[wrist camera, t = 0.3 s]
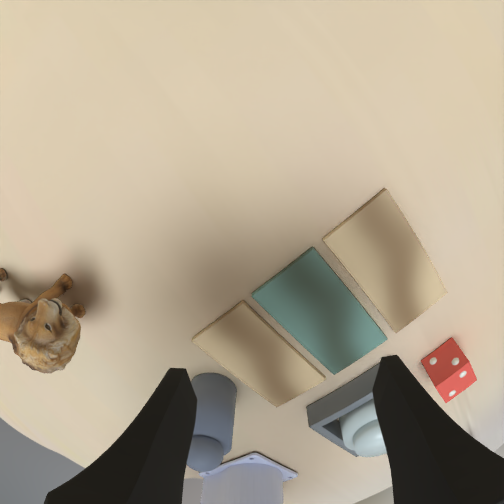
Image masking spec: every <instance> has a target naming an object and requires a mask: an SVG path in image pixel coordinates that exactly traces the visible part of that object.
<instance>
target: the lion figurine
mask: <svg viewBox="0 0 504 504" xmlns="http://www.w3.org/2000/svg"><path fill="white" fill-rule="evenodd" d="M6 278H7V275H6V272H5V270H4V269H0V281H4V280H6ZM71 287H72V280H71V279H70V278H69V277H68V276H67V275H66V274H63V275H62V276H61V277H60V278H59V279H58V280H57V281H56V283H55V284H54V285H53V286H52V287H51V288H50V289H49V290H47V291H45V292H43V293H42V294H41V295H40V296H39V297H38V298H37V299H36V300H35V301H34V302H33V303H31V301H29V300H27V299H23V300H20V301H17V302H8V303H4V304H1V303H0V340H4V341H7V342H10V343H12V345H13V349H14V353H15V354H17V355H18V356H19V357H20V358H21V359H22V362H23V364H26V365H27V366H29V367H30V368H31V369H32V370H37V371H39V372H42V373H52V372H54V371H56V370H63V369H64V368H65V366H66V364H67V363H69V362H70V361H71V358H72V356H73V355H74V353H75V351H76V347H77V344H78V341H79V339H80V330H81V326H80V323H79V321H78V320H77V319H76V318H75V316H76V317H78V318H82V317H83V316H84V315H85V309H84V307H83V306H82V305H80V304H74V305H72V306H71V307H70V308H68V306H67V305H65V304H63V303H61V301H60V300H59V299H57V298H58V297H59V296H61V295H62V294H64V293H65V292H66V290H68V289H70V288H71Z"/></svg>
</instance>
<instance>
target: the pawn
mask: <svg viewBox="0 0 504 504" xmlns="http://www.w3.org/2000/svg"><path fill="white" fill-rule="evenodd" d="M191 384H192V387H193V389H194V392H195V395H196V397H197V411H196V421H195V427H194V432H193V436H192V441H191V446H190V450H189V455H188V459H187V465H188V466H189V467H190V468H192V469H193V470H196V471H200V472H208V471H211V470H214V469H215V468H217V467H218V466H219V465H220V464H221V462H222V460H223V456H224V455H226V454H227V453H229V452H230V450H231V446H232V435H233V425H234V414H235V403H236V392H237V389H236V386H235V384H234V383H233V382H232V381H231V380H230V379H229V378H227V377H225V376H223V375H220V374H216V373H203V374H200V375H197V376H196V377H194V378H193V380H192V381H191Z"/></svg>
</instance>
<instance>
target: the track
mask: <svg viewBox="0 0 504 504" xmlns="http://www.w3.org/2000/svg"><path fill="white" fill-rule="evenodd" d="M323 241H324V242H325V243H326V245H327V246H328V247H329V248H330V249H331V251H332V252H333V253H334V254H335V256H336V257H337V258H338V259H339V260H340V262H341V263H342V264H343V265H344V267H345V268H346V269H347V270H348V272H349V273H350V274H351V275H352V277H353V278H354V279H355V281H356V282H357V283H358V284H359V286H360V287H361V288H362V289H363V291H364V292H365V293H366V295H367V296H368V297H369V299H370V300H371V301H372V302H373V304H374V305H375V306H376V308H377V309H378V310H379V312H380V313H381V314H382V316H383V317H384V318H385V320H386V321H387V322H388V324H389V325H390V326H391V328H392V329H393V330H394V332H395V333H397V332H398V331H400V330H401V329H402V328H404V327H405V326H406V325H408V324H409V323H410V322H412V321H413V320H414V319H416V318H417V317H418V316H420V315H421V314H422V313H423V312H425V311H426V310H427V309H428V308H430V307H431V306H432V305H433V304H435V303H436V302H437V301H438V300H439V299H441V298H442V297H443V296H444V295H445V294H447V291H446V289H445V287H444V285H443V283H442V281H441V279H440V277H439V275H438V273H437V271H436V270H435V268H434V266H433V264H432V262H431V260H430V259H429V257H428V255H427V253H426V252H425V250H424V248H423V246H422V245H421V243H420V241H419V240H418V238H417V236H416V234H415V233H414V231H413V230H412V228H411V226H410V225H409V223H408V221H407V220H406V218H405V217H404V215H403V213H402V212H401V210H400V209H399V207H398V206H397V204H396V203H395V201H394V200H393V198H392V197H391V195H390V194H389V192H388V191H387V189H385V188H384V189H383V190H382V191H380V192H379V193H378V194H377V195H376V196H374V197H373V198H372V199H371V200H370V201H368V202H367V203H366V204H365V205H363V206H362V207H361V208H360V209H359V210H357V211H356V212H355V213H354V214H352V215H351V216H350V217H349V218H347V219H346V220H345V221H344V222H343V223H341V224H340V225H339V226H338V227H336V228H335V229H334V230H333V231H331V232H330V233H329V234H328V235H326V236H325V237H324V238H323ZM252 297H253V298H254V299H255V300H256V301H257V302H258V303H259V304H260V305H261V306H262V307H263V308H264V309H265V310H266V311H267V312H268V313H269V314H270V315H271V316H272V317H273V318H274V319H275V320H276V321H277V322H278V323H279V324H280V325H282V326H283V327H284V328H285V329H286V330H287V331H288V332H289V333H290V334H291V335H292V336H293V337H294V338H295V339H296V340H297V341H298V342H299V343H300V344H301V345H303V346H304V347H305V348H306V349H307V350H308V351H309V352H310V353H311V354H312V355H313V356H314V357H315V358H316V359H317V360H319V361H320V362H321V363H322V364H323V365H324V366H325V367H326V368H327V369H328V370H329V371H330V372H331V373H333V374H334V375H335V374H336V373H338V372H339V371H341V370H343V369H344V368H346V367H347V366H349V365H350V364H352V363H354V362H355V361H357V360H358V359H360V358H361V357H363V356H364V355H366V354H367V353H369V352H370V351H372V350H373V349H374V348H376V347H377V346H379V345H380V344H382V343H383V342H385V341H386V340H387V337H386V336H385V334H384V333H383V332H382V331H381V329H380V328H379V327H378V326H377V324H376V323H375V322H374V320H373V319H372V318H371V317H370V315H369V314H368V313H367V312H366V310H365V309H364V308H363V307H362V305H361V304H360V303H359V302H358V300H357V299H356V298H355V297H354V296H353V294H352V293H351V292H350V291H349V289H348V288H347V287H346V286H345V285H344V283H343V282H342V281H341V280H340V278H339V277H338V276H337V275H336V274H335V272H334V271H333V270H332V269H331V268H330V266H329V265H328V264H327V263H326V262H325V260H324V259H323V258H322V257H321V256H320V255H319V253H318V252H317V251H316V250H315V249H314V247H311V248H310V249H309V250H307V251H306V252H305V253H304V254H302V255H301V256H300V257H299V258H297V259H296V260H295V261H293V262H292V263H291V264H290V265H288V266H287V267H286V268H284V269H283V270H282V271H281V272H279V273H278V274H277V275H275V276H274V277H273V278H272V279H270V280H269V281H268V282H266V283H265V284H264V285H262V286H261V287H260V288H259V289H257V290H256V291H255V292H253V293H252ZM192 342H193V343H195V344H196V345H197V346H198V347H199V348H200V349H202V350H203V351H204V352H205V353H207V354H208V355H209V356H210V357H211V358H213V359H214V360H215V361H216V362H218V363H219V364H220V365H221V366H223V367H224V368H225V369H226V370H228V371H229V372H230V373H231V374H233V375H234V376H235V377H237V378H238V379H239V380H240V381H242V382H243V383H244V384H246V385H247V386H248V387H250V388H251V389H252V390H254V391H255V392H256V393H258V394H259V395H260V396H262V397H263V398H265V399H266V400H267V401H269V402H270V403H271V404H273V405H274V406H276V407H278V406H280V405H282V404H284V403H286V402H288V401H289V400H291V399H293V398H295V397H297V396H299V395H300V394H302V393H304V392H306V391H307V390H309V389H311V388H313V387H314V386H316V385H318V384H320V383H321V382H323V381H325V380H326V378H325V376H324V375H323V374H322V373H321V372H320V371H319V370H318V369H316V368H315V367H314V366H313V365H312V364H311V363H310V362H309V361H308V360H306V359H305V358H304V357H303V356H302V355H301V354H300V353H299V352H298V351H297V350H296V349H294V348H293V347H292V346H291V345H290V344H289V343H288V342H287V341H286V340H285V339H284V338H283V337H281V336H280V335H279V334H278V333H277V332H276V331H275V330H274V329H273V328H272V327H271V326H270V325H269V324H268V323H267V322H265V321H264V320H263V319H262V318H261V317H260V316H259V315H258V314H257V313H256V312H255V311H254V310H253V309H252V308H251V307H250V306H249V305H248V304H247V303H245V302H244V301H241V302H240V303H239V304H237V305H236V306H235V307H233V308H232V309H231V310H230V311H228V312H227V313H225V314H224V315H223V316H221V317H220V318H219V319H217V320H216V321H215V322H213V323H212V324H211V325H209V326H208V327H207V328H205V329H204V330H203V331H201V332H200V333H199V334H197V335H196V336H194V337H193V338H192Z"/></svg>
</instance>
